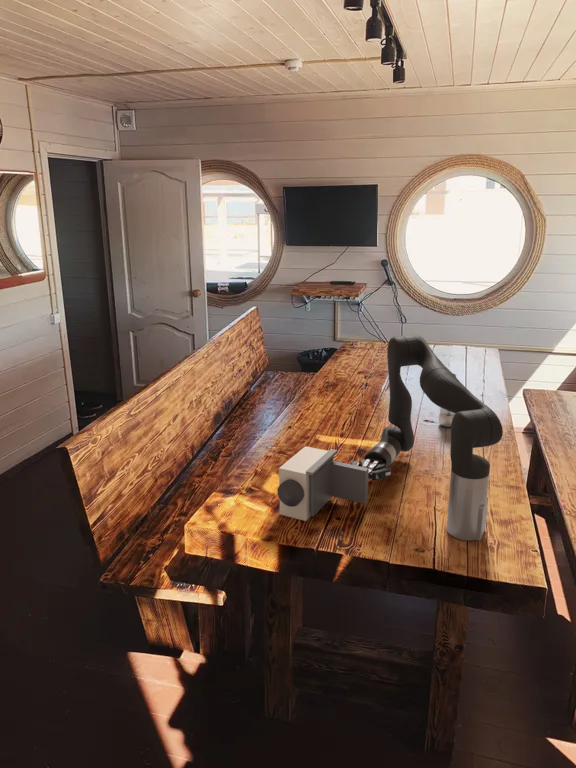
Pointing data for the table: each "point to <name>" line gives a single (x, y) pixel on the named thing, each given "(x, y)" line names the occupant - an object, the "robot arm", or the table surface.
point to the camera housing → (300, 481)
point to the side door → (338, 484)
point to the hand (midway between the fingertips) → (359, 481)
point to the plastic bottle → (446, 416)
